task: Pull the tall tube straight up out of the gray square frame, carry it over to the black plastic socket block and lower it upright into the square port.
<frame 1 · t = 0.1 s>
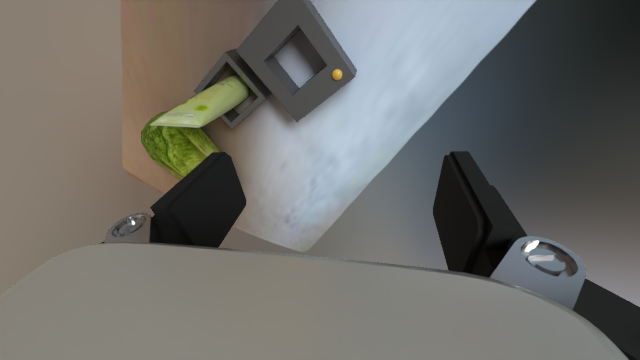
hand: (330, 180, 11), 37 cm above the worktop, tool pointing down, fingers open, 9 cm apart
port block: (302, 58, 43), on the worktop
lettuce: (210, 151, 59), on the worktop
gray square frame: (238, 88, 48), on the worktop
tube: (239, 88, 48), resting in gray square frame
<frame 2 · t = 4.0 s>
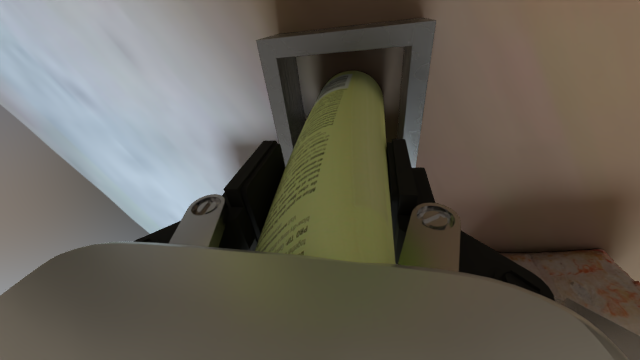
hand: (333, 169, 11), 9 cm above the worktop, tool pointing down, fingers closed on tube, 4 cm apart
food item: (522, 265, 26), on the worktop
gray square frame: (349, 105, 19), on the worktop
tube: (349, 104, 19), resting in gray square frame, touching gripper
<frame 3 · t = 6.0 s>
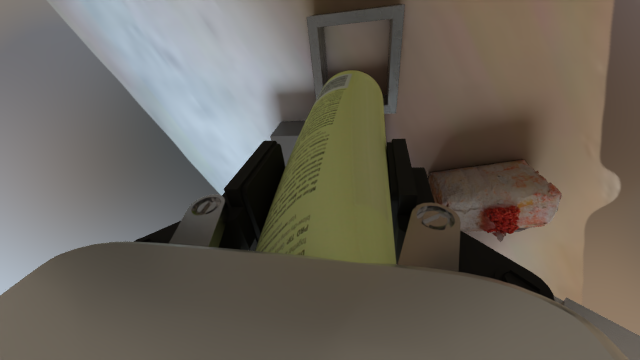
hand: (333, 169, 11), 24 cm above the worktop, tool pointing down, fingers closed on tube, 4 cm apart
port block: (333, 158, 39), on the worktop
food item: (475, 179, 37), on the worktop
gray square frame: (356, 61, 30), on the worktop
tube: (349, 104, 19), point 14 cm above the worktop, touching gripper
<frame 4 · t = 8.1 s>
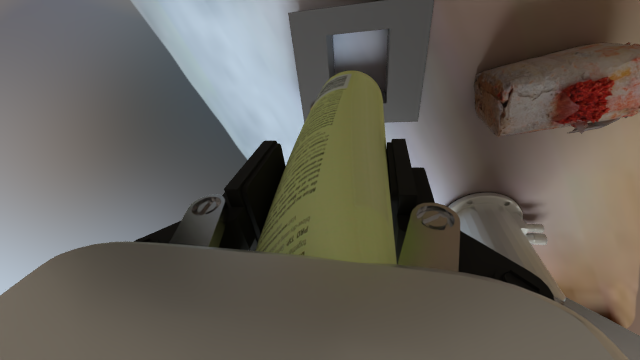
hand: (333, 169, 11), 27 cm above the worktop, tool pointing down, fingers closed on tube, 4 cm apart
port block: (359, 63, 33), on the worktop
food item: (533, 82, 31), on the worktop
tube: (348, 104, 19), point 17 cm above the worktop, touching gripper
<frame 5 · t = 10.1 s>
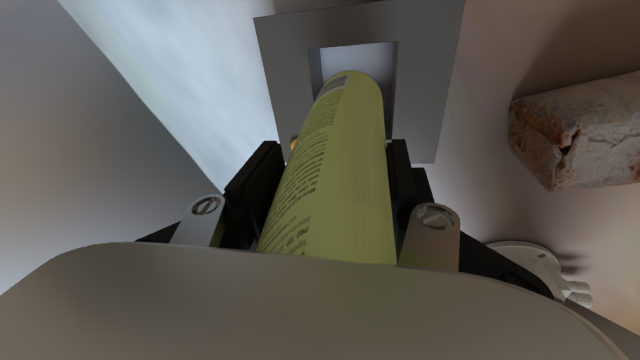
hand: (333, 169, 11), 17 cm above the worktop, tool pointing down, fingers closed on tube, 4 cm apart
port block: (356, 83, 25), on the worktop
food item: (590, 110, 23), on the worktop
tube: (348, 104, 19), point 7 cm above the worktop, touching gripper
when the fingers open (10 cm above the worktop, at t = 12.1 s): tube stays where it is, resting in port block.
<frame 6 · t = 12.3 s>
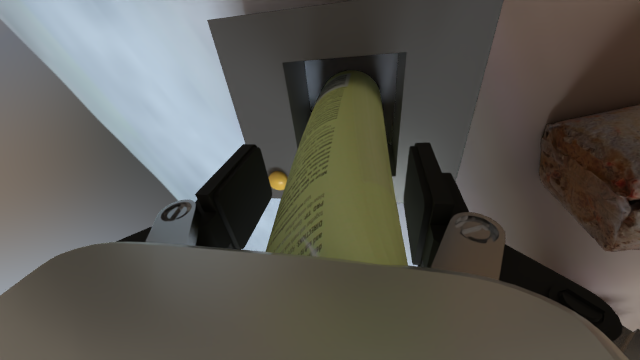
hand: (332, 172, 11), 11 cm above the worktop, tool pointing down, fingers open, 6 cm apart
port block: (350, 101, 20), on the worktop
tube: (348, 102, 20), resting in port block
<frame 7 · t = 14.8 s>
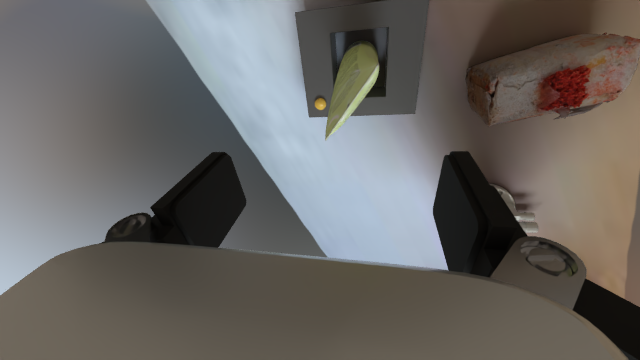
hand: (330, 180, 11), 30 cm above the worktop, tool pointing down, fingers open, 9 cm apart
port block: (360, 59, 35), on the worktop
food item: (521, 74, 33), on the worktop
tube: (359, 60, 35), resting in port block
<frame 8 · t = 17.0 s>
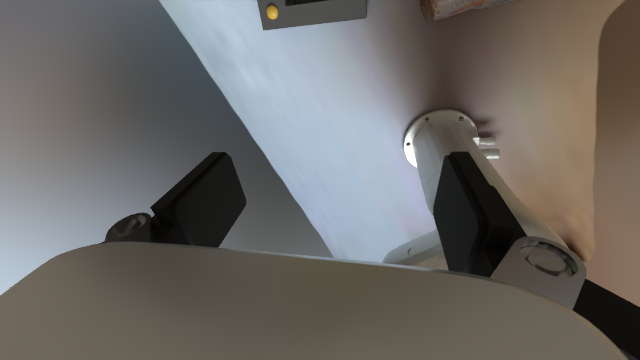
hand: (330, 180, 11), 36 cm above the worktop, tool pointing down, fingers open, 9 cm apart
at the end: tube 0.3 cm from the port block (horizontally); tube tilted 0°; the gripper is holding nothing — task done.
